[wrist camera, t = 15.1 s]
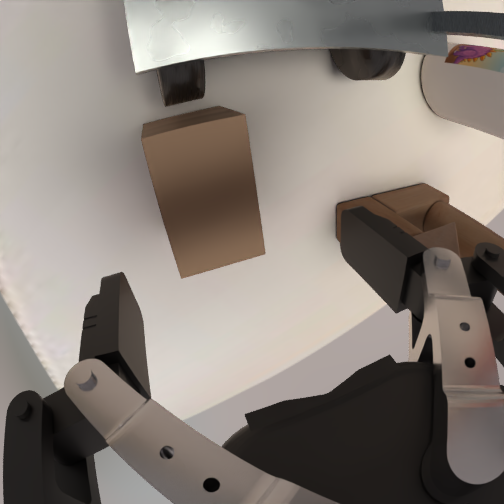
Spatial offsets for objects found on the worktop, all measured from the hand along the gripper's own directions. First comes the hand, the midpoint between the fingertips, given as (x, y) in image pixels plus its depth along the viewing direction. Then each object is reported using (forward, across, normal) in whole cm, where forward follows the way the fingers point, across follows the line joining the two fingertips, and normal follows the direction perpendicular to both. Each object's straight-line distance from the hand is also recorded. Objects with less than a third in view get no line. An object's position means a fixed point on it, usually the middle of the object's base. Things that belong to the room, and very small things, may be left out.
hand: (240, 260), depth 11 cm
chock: (+12, 0, 0) cm, 12 cm away
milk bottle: (+12, -24, -5) cm, 27 cm away
